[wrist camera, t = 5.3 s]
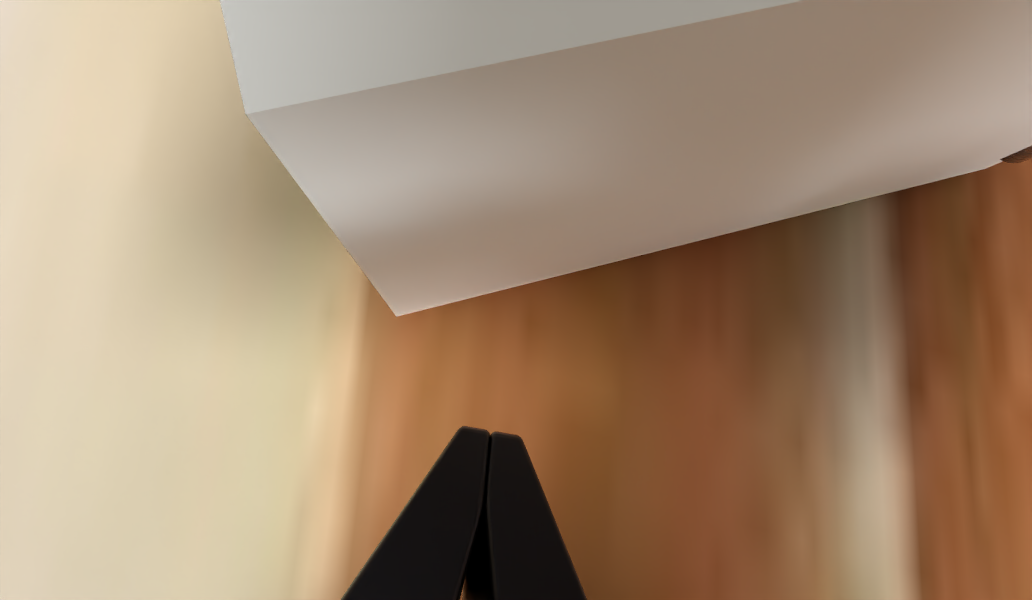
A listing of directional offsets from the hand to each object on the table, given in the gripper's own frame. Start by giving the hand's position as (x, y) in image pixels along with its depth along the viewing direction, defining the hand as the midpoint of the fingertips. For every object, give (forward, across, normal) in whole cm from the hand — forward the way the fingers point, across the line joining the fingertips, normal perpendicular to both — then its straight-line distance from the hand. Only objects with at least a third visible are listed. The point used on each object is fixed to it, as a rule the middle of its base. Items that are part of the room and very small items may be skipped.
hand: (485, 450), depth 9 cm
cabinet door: (+9, -5, 0) cm, 10 cm away
